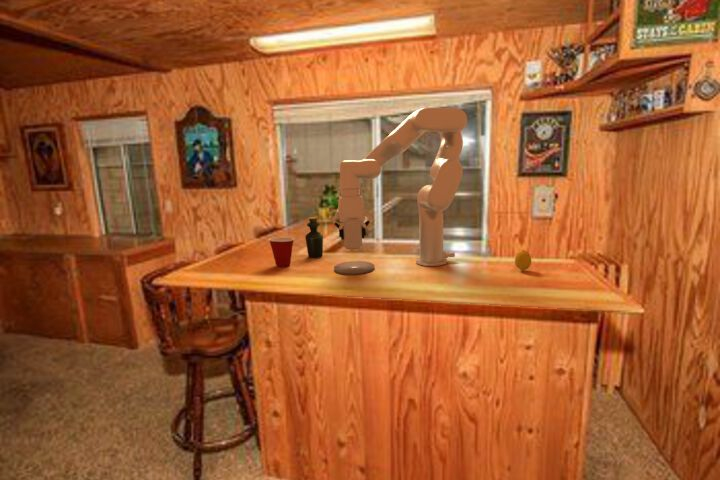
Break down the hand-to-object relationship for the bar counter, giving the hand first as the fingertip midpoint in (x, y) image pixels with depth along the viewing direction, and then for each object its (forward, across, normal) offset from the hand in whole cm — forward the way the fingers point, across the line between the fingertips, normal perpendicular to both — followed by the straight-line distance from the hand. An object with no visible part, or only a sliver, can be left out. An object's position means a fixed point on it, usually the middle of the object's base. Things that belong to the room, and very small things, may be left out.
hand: (352, 238), depth 153 cm
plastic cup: (+13, +28, -15) cm, 34 cm away
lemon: (+12, -59, +22) cm, 64 cm away
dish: (+13, 0, 0) cm, 13 cm away
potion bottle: (+13, +14, -27) cm, 33 cm away
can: (+4, 0, 0) cm, 4 cm away
